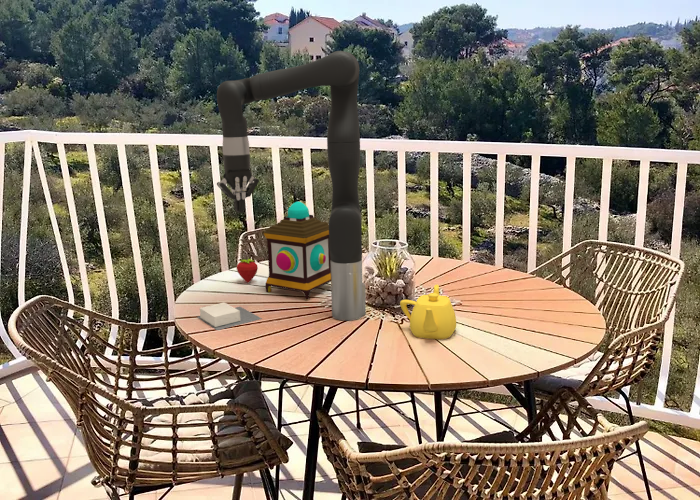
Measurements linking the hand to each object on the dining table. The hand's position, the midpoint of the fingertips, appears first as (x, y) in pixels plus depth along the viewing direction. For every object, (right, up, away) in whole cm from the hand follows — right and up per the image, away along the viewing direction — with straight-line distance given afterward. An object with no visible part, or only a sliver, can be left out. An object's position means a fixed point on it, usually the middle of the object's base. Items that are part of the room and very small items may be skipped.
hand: (240, 212), depth 193 cm
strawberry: (-3, -23, +37) cm, 44 cm away
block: (-3, -29, +2) cm, 30 cm away
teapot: (+54, -34, -10) cm, 64 cm away
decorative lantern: (+16, -25, +28) cm, 41 cm away
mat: (-4, -31, +2) cm, 32 cm away
